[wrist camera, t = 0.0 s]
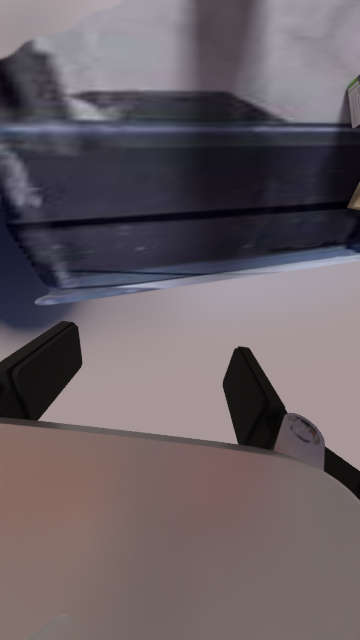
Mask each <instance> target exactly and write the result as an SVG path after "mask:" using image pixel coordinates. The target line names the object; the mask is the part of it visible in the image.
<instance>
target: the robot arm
mask: <svg viewBox="0 0 360 640" xmlns="http://www.w3.org/2000/svg"><path fill="white" fill-rule="evenodd" d="M81 366H82V355H81V347H80V339H79V331H78V326H76V325H75V323H73V322H67V321H61V322H60V323H58V324H57V325H55V326H54V327H52V328H51V329H49V330H48V331H46V332H45V333H43V334H42V335H40V336H39V337H37V338H36V339H34V340H32V341H31V342H29V343H28V344H26V345H25V346H23V347H22V348H20V349H19V350H17V351H16V352H14V353H13V354H11V355H10V356H8V357H7V358H5V359H4V360H2V361H1V362H0V640H360V471H359V470H357V469H356V468H355V467H353V466H352V465H350V464H349V463H348V462H346V461H345V460H343V459H342V458H341V457H339V456H338V455H336V454H335V453H334V452H332V451H331V450H329V449H328V448H327V447H325V443H324V438H323V436H322V434H321V432H320V431H319V430H318V429H317V427H316V426H315V425H314V424H312V423H311V422H310V421H309V420H307V419H306V418H304V417H302V416H301V415H298V414H295V413H287V411H286V409H285V406H284V404H283V403H282V401H281V399H280V398H279V396H278V394H277V393H276V391H275V390H274V388H273V386H272V385H271V383H270V381H269V380H268V378H267V376H266V375H265V373H264V371H263V370H262V368H261V367H260V365H259V363H258V362H257V360H256V358H255V357H254V355H253V353H252V352H251V350H250V349H249V348H247V347H240V346H239V347H238V348H235V350H234V352H233V355H232V358H231V360H230V363H229V366H228V369H227V372H226V374H225V377H224V380H223V389H224V393H225V397H226V400H227V404H228V408H229V412H230V415H231V419H232V423H233V426H234V430H235V434H236V437H237V441H238V444H239V445H238V444H230V443H224V442H216V441H208V440H200V439H192V438H183V437H175V436H167V435H159V434H150V433H141V432H132V431H123V430H115V429H107V428H98V427H90V426H80V425H70V424H62V423H53V422H44V421H38V419H40V417H41V416H42V415H43V413H44V412H45V411H46V410H47V409H48V407H49V406H50V405H51V403H52V402H53V401H54V400H55V399H56V398H57V396H58V395H59V394H60V393H61V391H62V390H63V389H64V388H65V386H66V385H67V384H68V383H69V382H70V380H71V379H72V378H73V377H74V375H75V374H76V373H77V372H78V370H79V369H80V368H81Z"/></svg>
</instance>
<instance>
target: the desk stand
mask: <svg viewBox="0 0 360 640" xmlns="http://www.w3.org/2000/svg"><path fill="white" fill-rule="evenodd" d="M347 208H351V209H356V210H360V182H359V184H358V186H357V188H356V190H355V192H354V194H353V196H352V198H351V200H350V202H349V204H348V207H347Z"/></svg>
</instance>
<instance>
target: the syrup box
mask: <svg viewBox="0 0 360 640" xmlns="http://www.w3.org/2000/svg"><path fill="white" fill-rule="evenodd" d="M348 96H349V106H350V114H351V122H352V129H354V128H355V127H357V126H359V125H360V75H359V76H358V77H357V78H356V79H354V80H353V81H352V82H351V83H350V84H349V85H348Z"/></svg>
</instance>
